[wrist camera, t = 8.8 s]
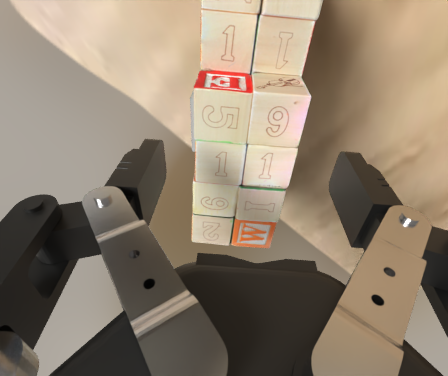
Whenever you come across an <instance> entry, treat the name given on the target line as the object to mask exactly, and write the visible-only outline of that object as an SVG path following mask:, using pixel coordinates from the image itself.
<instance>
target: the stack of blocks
mask: <svg viewBox="0 0 448 376" xmlns="http://www.w3.org/2000/svg"><path fill="white" fill-rule="evenodd" d="M322 3H323V0H201V7H202V8H201V58H200V61H201V71H200V72H199V74H198V78H197V80H196V83H195V85H194V139H195V175H194V179H193V214H192V241H193V242H199V243H210V244H220V245H229V244H230V243H231V245H235V246H244V247H259V248H270V245H271V242H272V238H273V235H274V231H275V228H276V224H277V222H278V221H279V217H280V214H281V210H282V206H283V202H284V198H285V194H286V188H287V187H288V186H289V183H290V180H291V175H292V172H293V168H294V164H295V161H296V157H297V153H298V145H299V143H300V140H301V136H302V132H303V128H304V124H305V121H306V117H307V113H308V109H309V105H310V102H311V95H310V93H309V91H308V89H307V87H306V85H305V83H304V81H303V79H302V75H303V71H304V67H305V63H306V59H307V55H308V51H309V47H310V43H311V39H312V35H313V31H314V27H315V23H316V20H317V19H318V18H319V14H320V10H321V7H322Z"/></svg>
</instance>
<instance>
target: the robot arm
mask: <svg viewBox="0 0 448 376" xmlns="http://www.w3.org/2000/svg"><path fill="white" fill-rule="evenodd" d="M165 179H166V162H165V153H164V144H163V141H162V140H155V139H154V140H153V139H145V140H144V141H143V143H142V145H141V146H140V148H139V149H133V150H131V151H130V152H128V153H127V154H125V155H124V157H123V158H122V160H121V162H120V163H119V164H118V166H117V169H115V171H114V172H113V174H112V175H111V177H110V178H109V180H108V181H107V183H106V184H105V186H104V187H99V188H96V189H93V190H92V191H90V192H88V193H87V194H86V195H85V196H84V198H83V200H82V201H81V202H75V203H69V204H62V205H59V204H58V202H57V200H56V198H55V197H53V196H51V195H36V196H32V197H29V198H26V199H24V200H22V201H20V202H19V203H18V204H16V205H15V206H14V207H13V208H12V209H11V210H10V212H9V213H8V214H7V215H6V216H5V217H4V218H3V219H2V221H1V222H0V376H37V372H38V369H39V359H38V356H37V355H36V353H35V352H34V351H33V349H34V347H35V345H36V343H37V341H38V339H39V337H40V335H41V333H42V331H43V329H44V327H45V325H46V323H47V321H48V319H49V317H50V315H51V313H52V311H53V309H54V307H55V305H56V303H57V301H58V299H59V297H60V295H61V293H62V291H63V289H64V287H65V285H66V283H67V281H68V279H69V277H70V275H71V273H72V271H73V269H74V267H75V265H76V263H77V261H78V259H79V258H85V257H90V256H94V255H99V254H101V255H102V257H103V260H104V262H105V265H106V267H107V270H108V272H109V274H110V277H111V280H112V282H113V285H114V287H115V290H116V292H117V295H118V298H119V300H120V303H121V305H122V308H123V310H124V311H123V312H122V313H120V314H119V315H118V316H117V317H116V318H115V319H113V320H112V321H111V322H110V323H109V324H108V325H107V326H106V327H104V328H103V329H102V330H101V331H100V332H98V333H97V334H96V335H95V336H94V337H93V338H92V339H90V340H89V341H88V342H87V343H86V344H85V345H83V346H82V347H81V348H80V349H79V350H78V351H76V352H75V353H74V354H73V355H72V356H71V357H70V358H69V359H67V360H66V361H65V362H64V363H63V364H61V366H59V367H58V368H57V369H56V370H55V371H53V372H52V373H51V374H50V375H49V376H443V375H442V374H441V373H440V372H439V371H438V370H437V369H435V368H434V367H433V366H432V365H431V364H430V363H429V362H428V361H427V360H426V359H425V358H424V357H422V355H421V354H419V353H418V352H417V351H416V350H415V349H414V348H413V347H412V346H411V345H410V344H409V343H408V342H406V341H405V340H404V337H405V333H406V330H407V326H408V323H409V320H410V316H411V313H412V310H413V306H414V303H415V300H416V296H417V293H418V290H419V287H420V284H421V286H422V288H423V290H424V291H425V293H426V296H427V297H428V299H429V301H430V303H431V305H432V307H433V309H434V311H435V313H436V315H437V317H438V319H439V321H440V323H441V325H442V327H443V329H444V331H445V333H446V335H447V337H448V231H447V230H444V229H440V228H436V227H433V226H432V225H431V222H430V220H429V219H428V218H427V217H426V216H425V215H424V214H422V213H421V212H419V211H417V210H415V209H413V208H411V207H407V206H403V204H402V203H401V201H400V200H399V199H398V197H397V196H396V194H395V193H394V191H393V190H392V188H391V187H389V184H388V183H387V181H385V178H384V177H383V176H382V174H381V173H380V171H378V170H377V169H376V168H374V167H373V166H372V165H370V164H367V163H366V161H365V160H364V158H363V157H362V155H361V154H360V153H355V152H341V153H340V154H339V156H338V158H337V161H336V164H335V167H334V170H333V173H332V175H331V178H330V182H329V192H330V195H331V197H332V200H333V202H334V205H335V207H336V210H337V212H338V215H339V218H340V220H341V223H342V225H343V228H344V230H345V233H346V235H347V238H348V240H349V243H350V245H351V247H356V248H363V249H364V253H363V255H362V257H361V258H360V260H359V262H358V264H357V266H356V267H355V269H354V271H353V273H352V275H351V277H350V278H349V280H348V282H347V284H346V286H345V285H344V284H343V283H341V282H340V281H338V280H337V279H335V278H333V277H331V276H329V275H327V274H325V273H322V272H320V271H317V267H316V264H315V261H306V260H305V261H304V260H291V259H284V260H278V261H271V262H265V263H252V262H249V261H245V260H242V259H238V258H235V257H231V256H228V255H219V254H204V253H198V255H197V261H196V262H192V263H188V264H185V265H182V266H180V267H177V268H175V269H174V267H173V266H172V264H171V263H170V261H169V259H168V258H167V256H166V254H165V253H164V251H163V250H162V248H161V246H160V245H159V243H158V241H157V240H156V238H155V236H154V235H153V233H152V232H151V230H150V228H149V227H148V226H149V223H150V221H151V218H152V215H153V213H154V210H155V207H156V205H157V202H158V199H159V197H160V194H161V191H162V189H163V186H164V183H165Z"/></svg>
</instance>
